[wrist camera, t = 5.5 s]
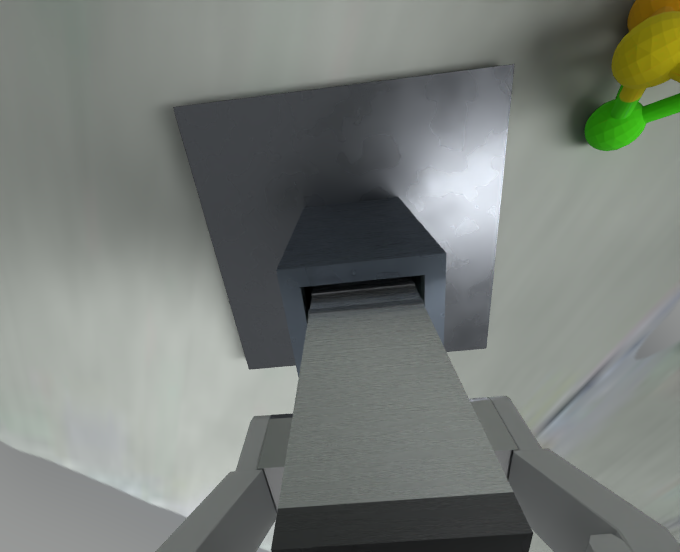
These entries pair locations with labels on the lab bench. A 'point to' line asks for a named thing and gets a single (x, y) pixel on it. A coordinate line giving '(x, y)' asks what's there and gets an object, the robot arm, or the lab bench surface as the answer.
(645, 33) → the molecular model
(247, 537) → the robot arm
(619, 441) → the lab bench surface
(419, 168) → the dark grey socket base
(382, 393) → the post
